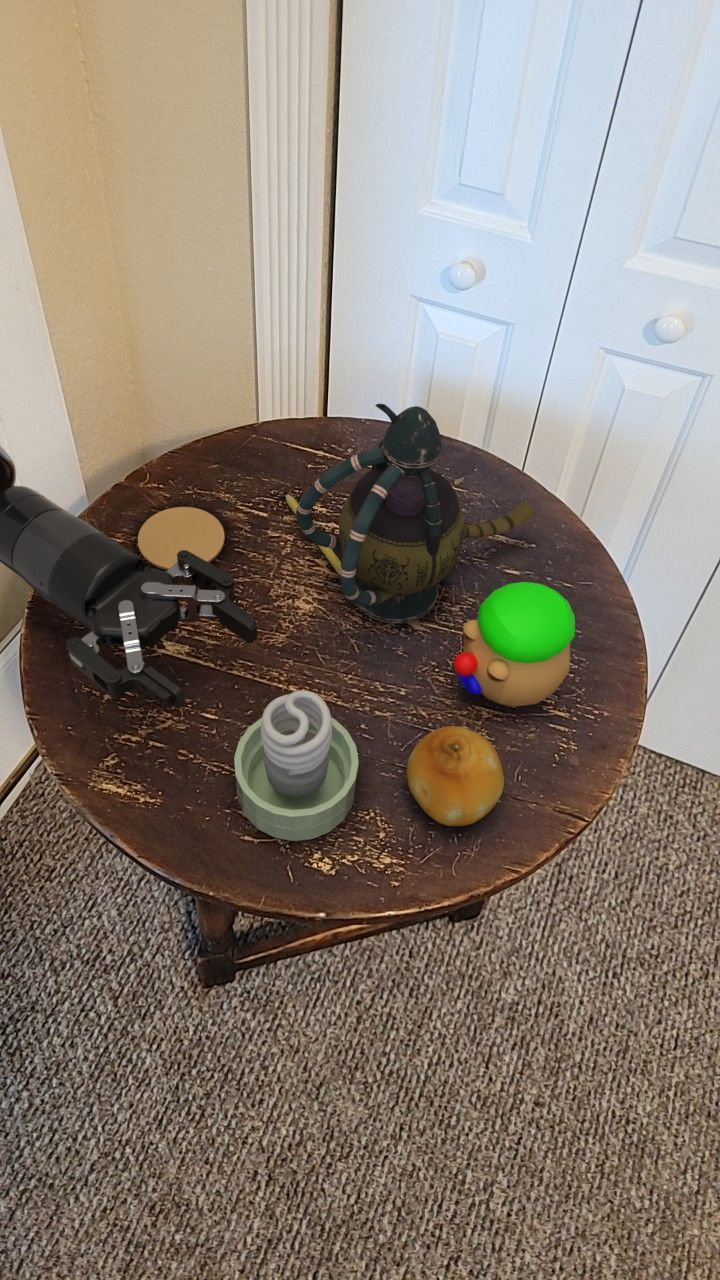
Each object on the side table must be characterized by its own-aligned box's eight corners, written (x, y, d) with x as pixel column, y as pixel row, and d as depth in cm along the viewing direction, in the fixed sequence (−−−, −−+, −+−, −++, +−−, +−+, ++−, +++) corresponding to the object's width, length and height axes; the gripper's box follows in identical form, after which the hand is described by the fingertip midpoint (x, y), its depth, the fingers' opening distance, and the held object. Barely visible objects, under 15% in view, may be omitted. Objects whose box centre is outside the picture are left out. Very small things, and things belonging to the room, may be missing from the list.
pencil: (288, 493, 103) (288, 486, 102) (349, 578, 96) (350, 571, 95) (280, 496, 103) (280, 489, 102) (341, 581, 95) (341, 575, 95)
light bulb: (327, 817, 79) (332, 743, 69) (261, 814, 78) (256, 740, 69) (330, 759, 82) (334, 681, 73) (266, 756, 82) (262, 678, 72)
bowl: (265, 862, 76) (263, 835, 72) (219, 763, 82) (216, 733, 78) (375, 815, 80) (379, 786, 76) (324, 723, 85) (326, 692, 81)
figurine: (525, 632, 93) (552, 550, 83) (576, 707, 87) (610, 629, 78) (424, 665, 90) (439, 583, 80) (470, 745, 84) (491, 668, 75)
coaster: (154, 582, 94) (154, 579, 94) (126, 523, 99) (126, 520, 98) (237, 555, 97) (237, 553, 96) (206, 500, 102) (206, 497, 101)
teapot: (289, 576, 95) (288, 391, 77) (493, 505, 104) (535, 322, 85) (343, 662, 89) (356, 482, 71) (555, 578, 97) (615, 398, 79)
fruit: (372, 781, 79) (426, 760, 72) (421, 720, 84) (476, 696, 77) (435, 850, 80) (493, 836, 73) (480, 786, 85) (538, 767, 78)
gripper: (3, 589, 74) (149, 697, 68) (134, 494, 81) (276, 585, 76) (25, 646, 80) (161, 749, 74) (145, 553, 87) (277, 641, 82)
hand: (219, 666), depth 75 cm, fingers open, 8 cm apart
